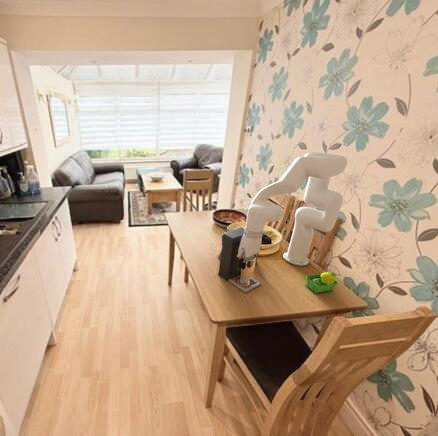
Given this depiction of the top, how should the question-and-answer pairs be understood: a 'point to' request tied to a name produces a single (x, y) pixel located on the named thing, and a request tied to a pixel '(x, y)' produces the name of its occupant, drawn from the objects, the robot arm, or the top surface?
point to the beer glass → (246, 271)
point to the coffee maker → (232, 258)
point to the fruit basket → (321, 282)
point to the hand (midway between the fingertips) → (246, 265)
